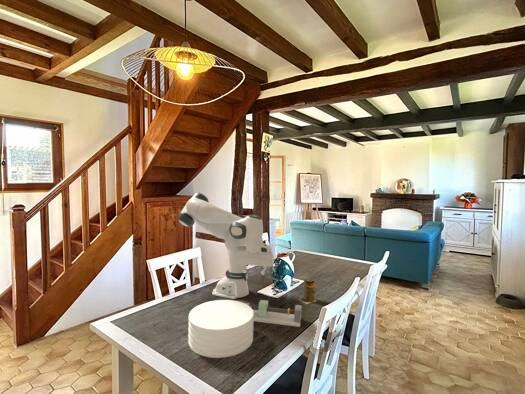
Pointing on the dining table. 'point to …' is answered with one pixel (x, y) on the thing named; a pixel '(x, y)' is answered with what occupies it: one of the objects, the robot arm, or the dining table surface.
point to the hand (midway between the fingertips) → (253, 273)
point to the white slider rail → (279, 315)
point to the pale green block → (263, 308)
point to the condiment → (308, 292)
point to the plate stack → (220, 328)
